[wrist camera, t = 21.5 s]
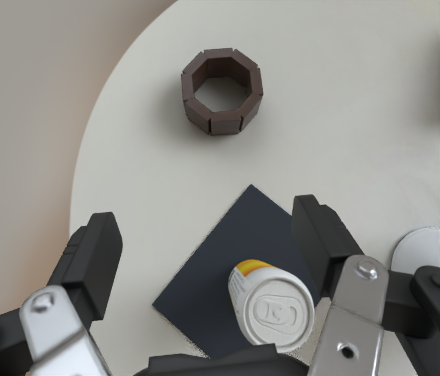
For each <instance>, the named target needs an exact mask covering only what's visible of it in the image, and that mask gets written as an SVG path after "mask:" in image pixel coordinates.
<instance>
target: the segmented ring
mask: <svg viewBox="0 0 440 376" xmlns="http://www.w3.org/2000/svg"><path fill="white" fill-rule="evenodd" d="M257 66H258V65H257V64H256V63H255V62H253V61H252V60H250V59H249V58H248V57H246V56H245V55H244V54H242V53H241V52H240V51H238V50H237V49H235V50H234V51H233V50H232V48H223V49H210V50H204V53H202V52H200V53H199V54H198V55H197V56H196V57H195V58H194V59H193V60H192V61H191V62H190V63H189V64H188V65H187V66H186V67H185V69H184V70H183V71H182V72H183V74H181V81H182V94H183V102H184V107H185V111H186V116H188V119H189V120H190V121H191V122H193V123H194V124H195V125H197V126H198V127H199V128H200V129H202V130H203V131H204V132H205V133H207V134H208V135H209V134H210V132H211V135H212V136H214V135H226V134H237V133H238V131H240V132H241V131H242V130H243V129H244V128H245V127H246V126H247V124H248V123H249V122H250V121H251V120H252V119H253V117H254V116H255V115H256V114H257V112H258V109H259V106H260V103H261V100H262V96H263V88H262V81H261V73H260V68H257ZM218 77H230V78H232V79H233V80H234V81H236V82H237V83H238V84H240V85H241V86H242V87H244V88H245V89H246V93H247V100H246V101H245V102H244V103H243V104H242V105H241V106H240V107H239V109H238V110H232V111H220V112H212V111H211V110H209V109H208V108H207V107H205V106H204V105H203V104H201V103H200V102H199V101H198V100H196V99H195V95H194V93H195V92H196V91H197V90H198V89H199V88H200V87H201V85H202V84H203V83H204V82H205V81H206V80H207V79H208V78H218Z"/></svg>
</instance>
